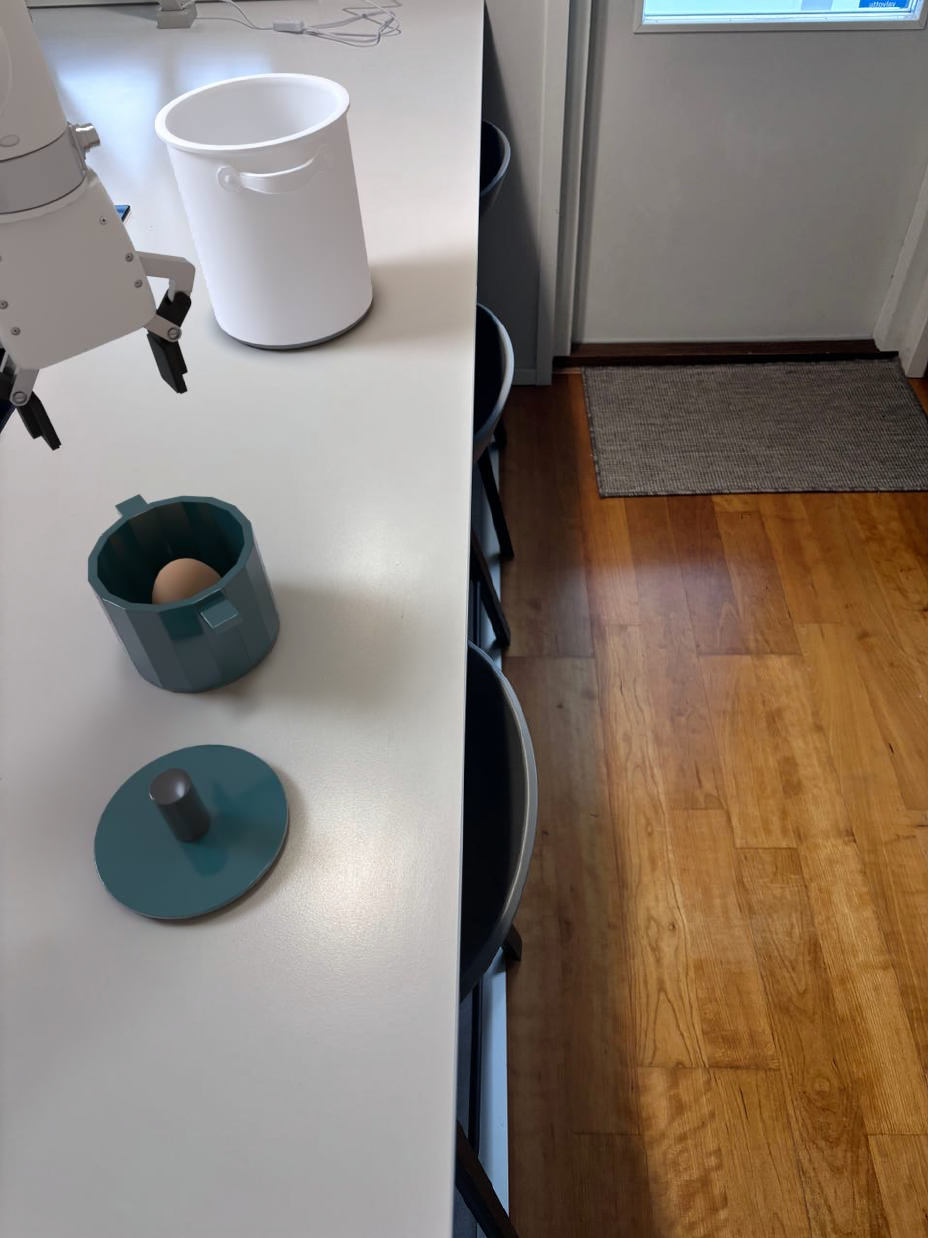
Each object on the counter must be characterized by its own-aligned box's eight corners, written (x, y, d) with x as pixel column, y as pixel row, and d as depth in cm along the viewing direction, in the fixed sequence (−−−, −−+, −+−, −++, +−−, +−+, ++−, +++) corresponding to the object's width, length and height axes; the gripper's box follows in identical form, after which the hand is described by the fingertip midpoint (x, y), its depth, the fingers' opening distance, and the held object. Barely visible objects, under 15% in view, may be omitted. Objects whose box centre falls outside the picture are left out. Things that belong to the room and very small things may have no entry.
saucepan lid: (147, 964, 66) (115, 924, 61) (69, 820, 74) (35, 774, 69) (325, 844, 71) (309, 797, 66) (234, 721, 79) (214, 672, 74)
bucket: (407, 336, 117) (381, 127, 99) (235, 382, 113) (175, 173, 95) (347, 247, 133) (315, 54, 115) (195, 285, 129) (137, 90, 111)
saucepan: (183, 739, 78) (143, 659, 71) (94, 610, 89) (50, 528, 81) (322, 657, 83) (299, 573, 76) (222, 544, 94) (193, 460, 86)
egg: (154, 631, 86) (124, 567, 80) (214, 594, 89) (189, 529, 83) (192, 670, 83) (164, 606, 77) (253, 629, 85) (230, 565, 79)
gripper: (125, 109, 61) (198, 345, 73) (-153, 197, 54) (-21, 438, 67) (176, 143, 57) (244, 386, 69) (-119, 242, 50) (15, 490, 63)
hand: (114, 411), depth 68 cm, fingers open, 9 cm apart
